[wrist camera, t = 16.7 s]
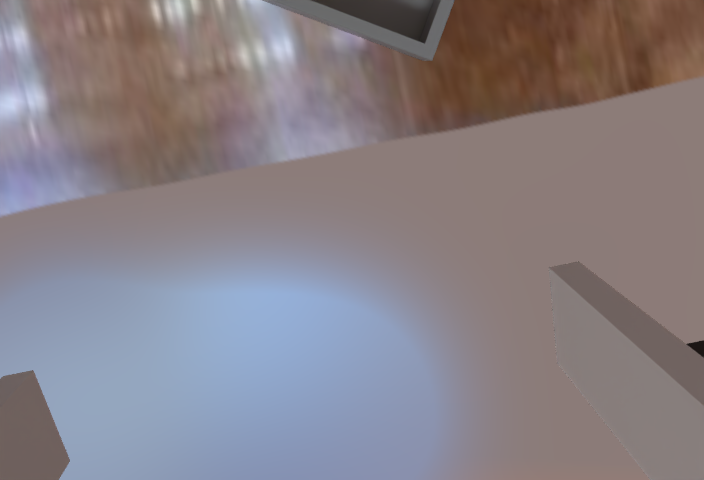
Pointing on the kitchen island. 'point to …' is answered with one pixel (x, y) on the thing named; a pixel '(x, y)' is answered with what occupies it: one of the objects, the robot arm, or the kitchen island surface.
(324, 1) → the bin
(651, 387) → the robot arm
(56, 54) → the kitchen island surface
